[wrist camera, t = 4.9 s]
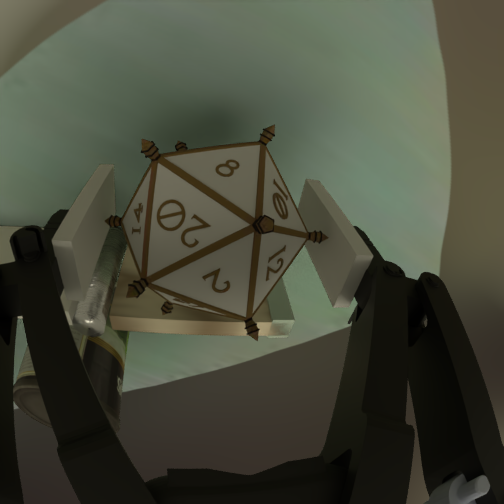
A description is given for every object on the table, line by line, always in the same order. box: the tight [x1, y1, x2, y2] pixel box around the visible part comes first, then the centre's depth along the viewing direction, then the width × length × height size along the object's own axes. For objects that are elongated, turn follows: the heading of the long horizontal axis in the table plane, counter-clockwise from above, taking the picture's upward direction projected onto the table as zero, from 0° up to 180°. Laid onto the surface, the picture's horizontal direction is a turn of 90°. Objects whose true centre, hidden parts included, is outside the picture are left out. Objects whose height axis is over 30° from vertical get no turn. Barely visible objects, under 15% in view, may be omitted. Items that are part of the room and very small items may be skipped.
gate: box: [109, 246, 295, 338], centre depth 25 cm, size 13×2×9 cm, turn 80°
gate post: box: [72, 227, 127, 337], centre depth 23 cm, size 2×2×10 cm
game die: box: [105, 125, 329, 341], centre depth 13 cm, size 9×8×10 cm
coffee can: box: [13, 282, 129, 433], centre depth 26 cm, size 10×10×14 cm
